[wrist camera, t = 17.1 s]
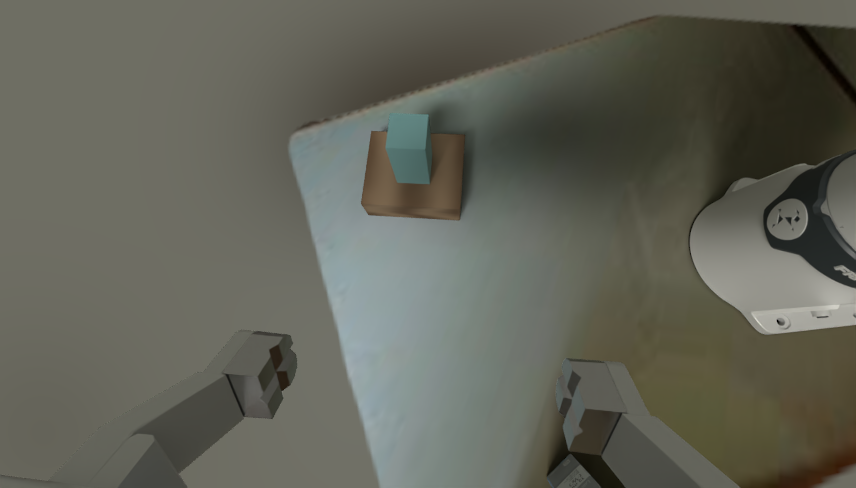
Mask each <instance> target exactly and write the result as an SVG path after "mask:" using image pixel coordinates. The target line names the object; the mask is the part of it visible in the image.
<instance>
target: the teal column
mask: <svg viewBox="0 0 856 488" xmlns="http://www.w3.org/2000/svg"><path fill="white" fill-rule="evenodd" d="M385 148H386V151H387V154H388V157H389V160H390V163H391V166H392V169H393V172H394V175H395V178H396V180H397V183H414V184H430V176H431V165H432V146H431V135H430V125H429V115H428V114H397V113H390V116H389V124H388V131H387V139H386V147H385Z"/></svg>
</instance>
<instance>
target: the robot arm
mask: <svg viewBox="0 0 856 488" xmlns="http://www.w3.org/2000/svg"><path fill="white" fill-rule="evenodd" d="M690 250H691V256H692V259H693V262H694V265H695V267H696V269H697V271H698V273H699V275H700V276H701V278H702V279H703V280H704V282H705V283H706V284H707V285H708V287H709V288H710V289H711V290H712V291H713V292H715V293H716V294H717V295H718V296H719V297H721V298H722V299H723V300H725V301H726V302H728V303H729V304H731V305H733V306H734V307H736V308H737V309H738V310H739V311H741V312H742V314H743V315H744V316H745V317H746V319H747V320H748V321H749V322H750V324H751V325H752V326H753V327H754V328H755V329H756V330H757V331H759V332H760V333H762V334H766V335H770V334H779V333H788V332H797V331H806V330H815V329H824V328H832V327H841V326H850V325H856V150H852V151H849V152H847V153H845V154H842V155H837V156H835V157H832V158H830V159H827V160H825V161H823V162H821V163H819V164H818V165H816V166H814V165H807V164H805V163H803V164H797V165H794V166H792V167H789V168H787V169H784V170H782V171H779V172H777V173H775V174H772V175H770V176H767V177H765V178H762V179H760V180H757V179H752V178H742V179H739V180H737V181H735V182H733V183H732V184H731V186H730V187H729V188H728V190H727V192H726V193H725V195H724V196H723V197H722V198H721V199H719V200H717V201H716V202H714V203H712V204H710V205H709V206H707V207H706V208H705V209H704V210H703V211H702V212H701V213H700V214H699V215H698V217H697V218H696V220H695V222H694V224H693V227H692V230H691V235H690ZM777 320H778V321H779V324H778V323H777ZM292 344H293V342H292V339H291V336H290V335H287V334H278V333H270V332H261V331H250V330H239V331H238V332H236V333H235V334H234V335H233V336H232V338H231V339H230V340H229V341H228V342H227V344H226V345H225V346H224V347H223V349H222V350H221V351H220V352H219V353H218V355H217V356H216V357H215V358H214V360H213V361H212V362H211V363H210V364H209V366H208V367H207V368H206V369H205V370H204V372H197V373H195V374H193V375H192V376H190V377H188V378H187V379H185V380H183V381H181V382H179V383H177V384H176V385H174V386H172V387H170V388H169V389H167V390H165V391H163V392H162V393H160V394H158V395H156V396H154V397H153V398H151V399H149V400H147V401H146V402H144V403H142V404H140V405H138V406H137V407H135V408H133V409H131V410H129V411H128V412H126V413H124V414H122V415H121V416H119V417H117V418H115V419H113V420H112V421H110V422H108V423H106V424H105V425H103V426H101V427H100V428H99V429H98V430H97V431H96V432H95V433H94V434H93V435H92V436H91V437H90V438H89V439H88V440H87V441H86V442H85V443H84V444H83V445H82V446H81V447H80V448H79V449H78V450H77V451H76V452H75V453H74V454H73V455H72V456H71V457H70V458H69V459H68V461H66V462H65V463H64V464H63V466H62V467H61V468H60V469H59V470H58V471H57V472H56V473H55V474H54V475H53V476H52V477H51V478H50V479H49V480H48V481H45V480H37V479H30V478H22V477H14V476H6V475H0V488H187V485H186V484H185V482H184V481H183V479H182V478H181V476H180V475H179V473H180V472H181V471H183V470H184V469H185V468H186V467H187V466H189V465H190V464H191V463H192V462H193V461H194V460H196V458H198V457H199V456H200V455H202V454H203V453H204V452H205V451H206V450H207V449H209V448H210V447H211V446H212V445H213V444H215V443H216V442H217V441H218V440H219V439H220V438H222V437H223V436H224V435H225V434H226V433H228V432H229V431H230V430H231V429H232V428H233V427H235V426H236V425H237V424H238V423H239V422H241V421H242V420H243V419H244V417H253V418H265V419H266V418H267V419H273V417H274V415H275V413H276V411H277V409H278V408H279V406H280V404H281V402H282V400H283V395H282V391H283V390H284V389H286V388H287V387H288V386H290V385H291V383H292V381H293V379H294V376H295V373H296V369H297V358H296V354H295V353H294V352H293V351H292V350H291V349H290V348H291V346H292ZM562 371H563V375H562V376H560V377H559V378H558V381H557V385H556V401H557V406H558V410H559V413H560V414H561V415H562V416H563V417H564V418H565V421H564V424H563V430H564V434H565V438H566V442H567V446H568V450H569V451H572V452H580V453H587V454H595V455H602V459H603V460H604V461H605V462H606V464H607V465H608V466H609V467H610V469H611V470H612V471H613V472H614V474H615V475H616V476H617V477H618V479H619V480H620V481H621V482H622V484H623V485H624V486H625V487H626V488H740V487H739V486H738V485H737V484H735V483H734V482H733V481H732V480H731V479H729V478H728V477H727V476H726V475H725V474H724V473H722V472H721V471H720V470H719V469H718V468H716V467H715V466H714V465H713V464H712V463H711V462H709V461H708V460H707V459H706V458H705V457H703V456H702V455H701V454H700V453H699V452H697V451H696V450H695V449H694V448H693V447H692V446H690V445H689V444H688V443H687V442H686V441H684V440H683V439H682V438H681V437H680V436H679V435H677V434H676V433H675V432H674V431H673V430H671V429H670V428H669V427H668V426H667V425H666V424H664V423H663V422H662V421H661V420H660V419H658V418H657V417H654V416H650V414H649V412H648V410H647V408H646V406H645V404H644V402H643V400H642V398H641V396H640V394H639V392H638V390H637V389H636V387H635V385H634V383H633V381H632V379H631V377H630V375H629V373H628V371H627V369H626V367H625V365H624V364H623V363H621V362H608V361H597V360H584V359H571V358H566V359H565V360H564V361H563V364H562Z"/></svg>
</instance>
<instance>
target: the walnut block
mask: <svg viewBox="0 0 856 488" xmlns="http://www.w3.org/2000/svg"><path fill="white" fill-rule="evenodd" d="M430 135H431V146H432V165H431V176H430V184H414V183H397V180H396V178H395V175H394V172H393V169H392V166H391V163H390V160H389V157H388V154H387V151H386V148H385V147H386V139H387V132H380V131H371V138H370V145H369V152H368V159H367V166H366V173H365V180H364V187H363V194H362V201H361V204H362V206H363V207H364V209H365V210H366V212H367V213H368V215H376V216H393V217H411V218H428V219H445V220H460V208H461V192H462V176H463V160H464V144H465V135H460V134H433V133H430Z"/></svg>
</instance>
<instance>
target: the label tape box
mask: <svg viewBox="0 0 856 488" xmlns="http://www.w3.org/2000/svg"><path fill="white" fill-rule="evenodd" d="M547 479H548V481H549V483H550V484H551V486H552V487H553V488H602V487H601V486H600V485H599V484H598V483H597V482H596V480H595V479H594V478H593V477H592V476H591V475H590V474H589V473H588V472H587V471H586V469H585V468H584V467H583V466H582V465H581V464H580V463H579V462H578V461H577V460H576V458H575V457H574V456H573V455H572V454H569V455H568V456H567V457H566V458H565V459H564V460H563V461H562V462H561V463H560V464H559V465H558V466H557V467H556V468H555V469H554V470H553V471H552V472H551V473H550V474H549V475H548V476H547Z"/></svg>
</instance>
